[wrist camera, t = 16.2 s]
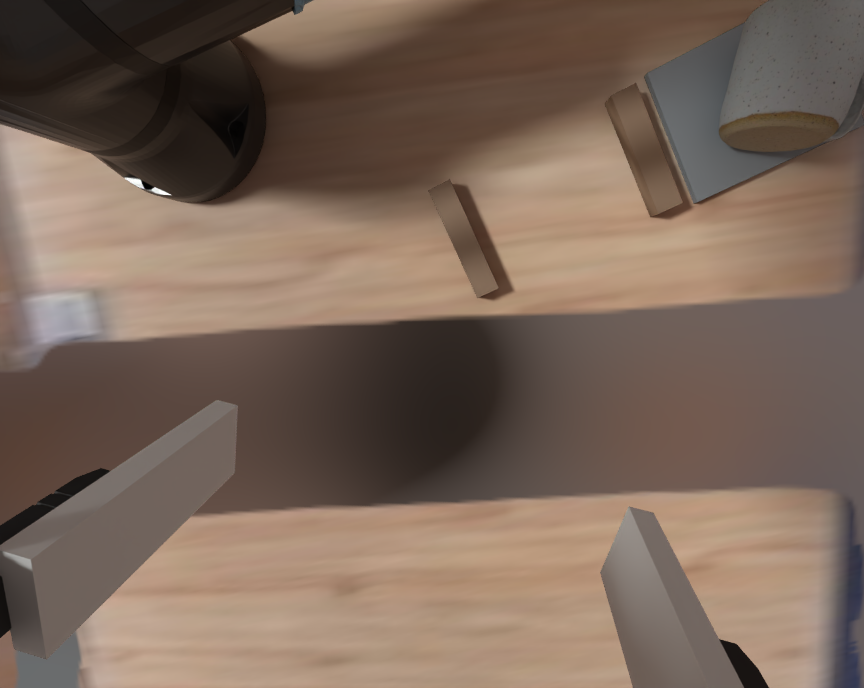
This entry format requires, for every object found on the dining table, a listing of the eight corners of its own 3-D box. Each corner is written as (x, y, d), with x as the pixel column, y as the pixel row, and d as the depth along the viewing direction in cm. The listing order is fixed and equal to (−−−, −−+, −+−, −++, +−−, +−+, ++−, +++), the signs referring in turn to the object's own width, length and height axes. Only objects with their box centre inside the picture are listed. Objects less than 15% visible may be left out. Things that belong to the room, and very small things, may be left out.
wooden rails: (430, 194, 37) (428, 190, 35) (628, 91, 34) (635, 82, 33) (477, 297, 38) (477, 298, 36) (673, 205, 35) (683, 202, 33)
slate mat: (644, 76, 34) (647, 73, 33) (811, -11, 32) (817, -16, 31) (693, 203, 35) (697, 202, 34) (858, 127, 33) (865, 124, 32)
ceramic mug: (693, 149, 34) (759, 112, 26) (721, 38, 32) (799, -35, 25) (829, 168, 33) (937, 136, 26) (863, 55, 32) (988, -14, 24)
